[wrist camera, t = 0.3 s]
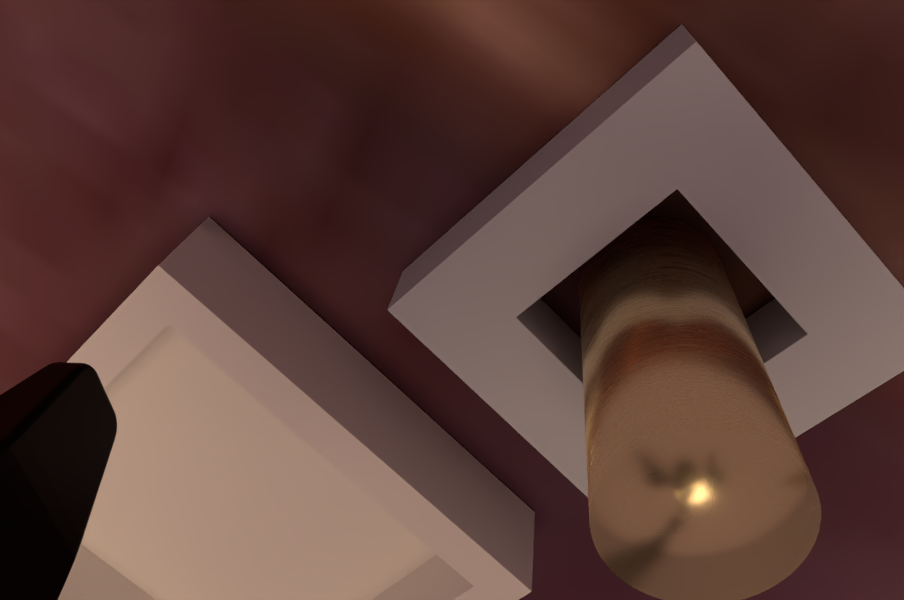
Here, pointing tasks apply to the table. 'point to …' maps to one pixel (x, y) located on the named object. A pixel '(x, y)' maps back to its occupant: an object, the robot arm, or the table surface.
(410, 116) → the table surface
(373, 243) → the table surface
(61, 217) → the table surface
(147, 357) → the tray
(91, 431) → the robot arm
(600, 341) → the brass peg
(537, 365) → the collar block
